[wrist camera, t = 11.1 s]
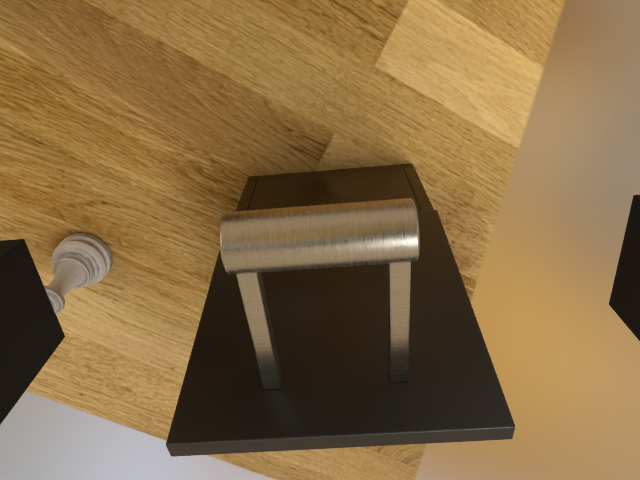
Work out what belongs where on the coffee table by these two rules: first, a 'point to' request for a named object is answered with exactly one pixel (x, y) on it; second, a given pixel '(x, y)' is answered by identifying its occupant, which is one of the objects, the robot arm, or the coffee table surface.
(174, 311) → the coffee table surface
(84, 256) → the chess piece
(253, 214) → the handled dark lid
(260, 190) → the dark boxy piece
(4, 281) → the robot arm
